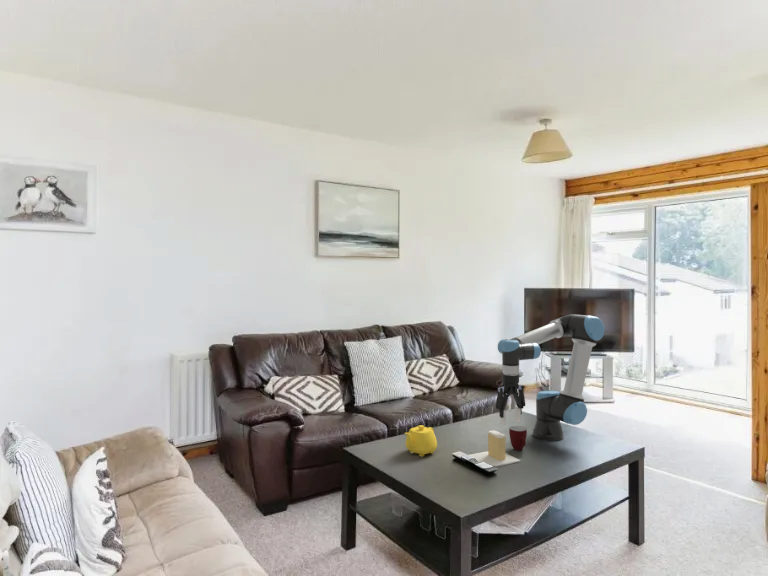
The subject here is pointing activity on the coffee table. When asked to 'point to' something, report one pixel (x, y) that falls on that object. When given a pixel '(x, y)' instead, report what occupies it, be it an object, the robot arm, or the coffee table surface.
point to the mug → (518, 437)
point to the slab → (496, 445)
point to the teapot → (421, 440)
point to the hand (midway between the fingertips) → (510, 423)
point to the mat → (492, 461)
